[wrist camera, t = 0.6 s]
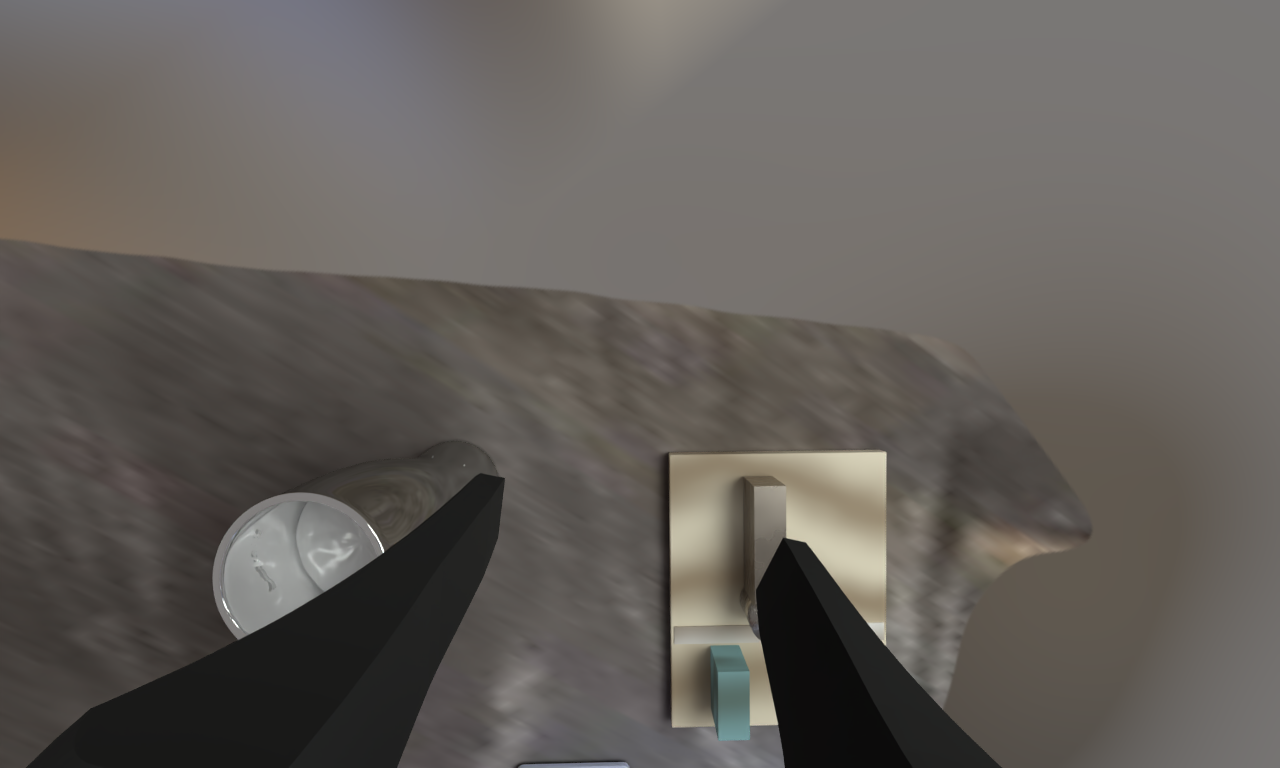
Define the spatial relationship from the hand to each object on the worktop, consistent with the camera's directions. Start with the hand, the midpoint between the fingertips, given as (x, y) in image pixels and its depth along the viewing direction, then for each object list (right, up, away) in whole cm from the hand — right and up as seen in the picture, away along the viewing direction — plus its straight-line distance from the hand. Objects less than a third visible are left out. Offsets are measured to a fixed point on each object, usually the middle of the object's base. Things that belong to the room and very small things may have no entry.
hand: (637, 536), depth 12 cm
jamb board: (+10, -10, +21) cm, 25 cm away
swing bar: (+8, -7, +20) cm, 22 cm away
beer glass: (-13, -3, +20) cm, 24 cm away
